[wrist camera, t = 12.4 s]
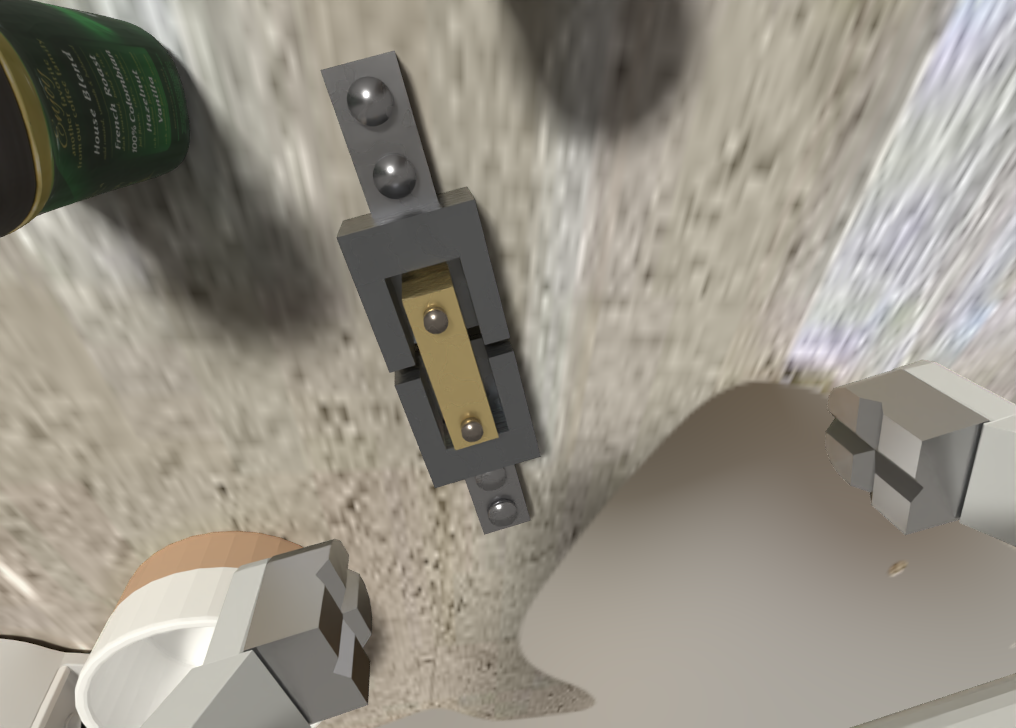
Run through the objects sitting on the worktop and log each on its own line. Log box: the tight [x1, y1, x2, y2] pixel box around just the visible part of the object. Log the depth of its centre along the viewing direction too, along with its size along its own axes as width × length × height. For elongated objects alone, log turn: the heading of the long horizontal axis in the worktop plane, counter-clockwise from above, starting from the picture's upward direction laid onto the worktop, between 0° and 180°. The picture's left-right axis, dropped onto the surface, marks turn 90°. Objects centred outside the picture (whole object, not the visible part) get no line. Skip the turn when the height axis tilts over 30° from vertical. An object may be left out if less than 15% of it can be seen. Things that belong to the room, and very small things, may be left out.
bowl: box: [75, 531, 321, 728], centre depth 44 cm, size 17×17×8 cm
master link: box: [402, 261, 499, 450], centre depth 36 cm, size 11×3×6 cm, turn 13°
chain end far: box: [395, 333, 540, 535], centre depth 42 cm, size 17×8×4 cm, turn 13°
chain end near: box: [321, 51, 510, 372], centre depth 33 cm, size 17×8×4 cm, turn 13°
